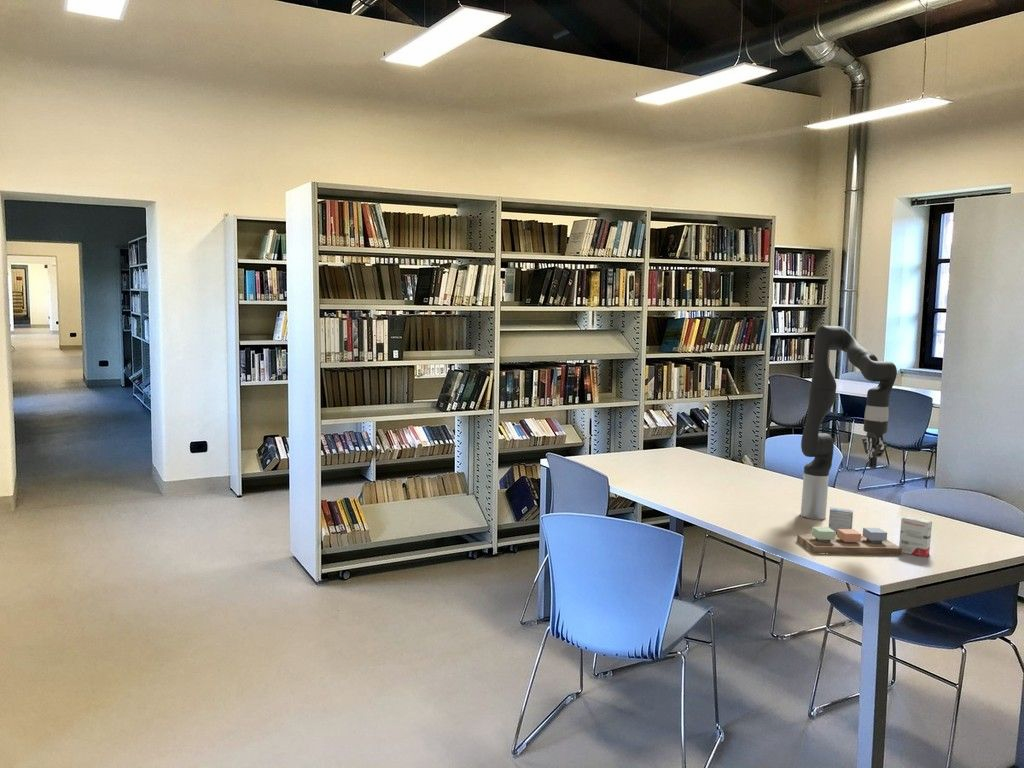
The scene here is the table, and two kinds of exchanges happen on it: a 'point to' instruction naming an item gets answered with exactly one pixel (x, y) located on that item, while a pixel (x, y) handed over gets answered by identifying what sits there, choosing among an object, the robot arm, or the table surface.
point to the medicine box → (840, 518)
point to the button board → (849, 546)
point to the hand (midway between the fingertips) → (872, 467)
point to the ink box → (915, 536)
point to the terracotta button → (849, 535)
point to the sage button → (823, 533)
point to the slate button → (875, 534)
